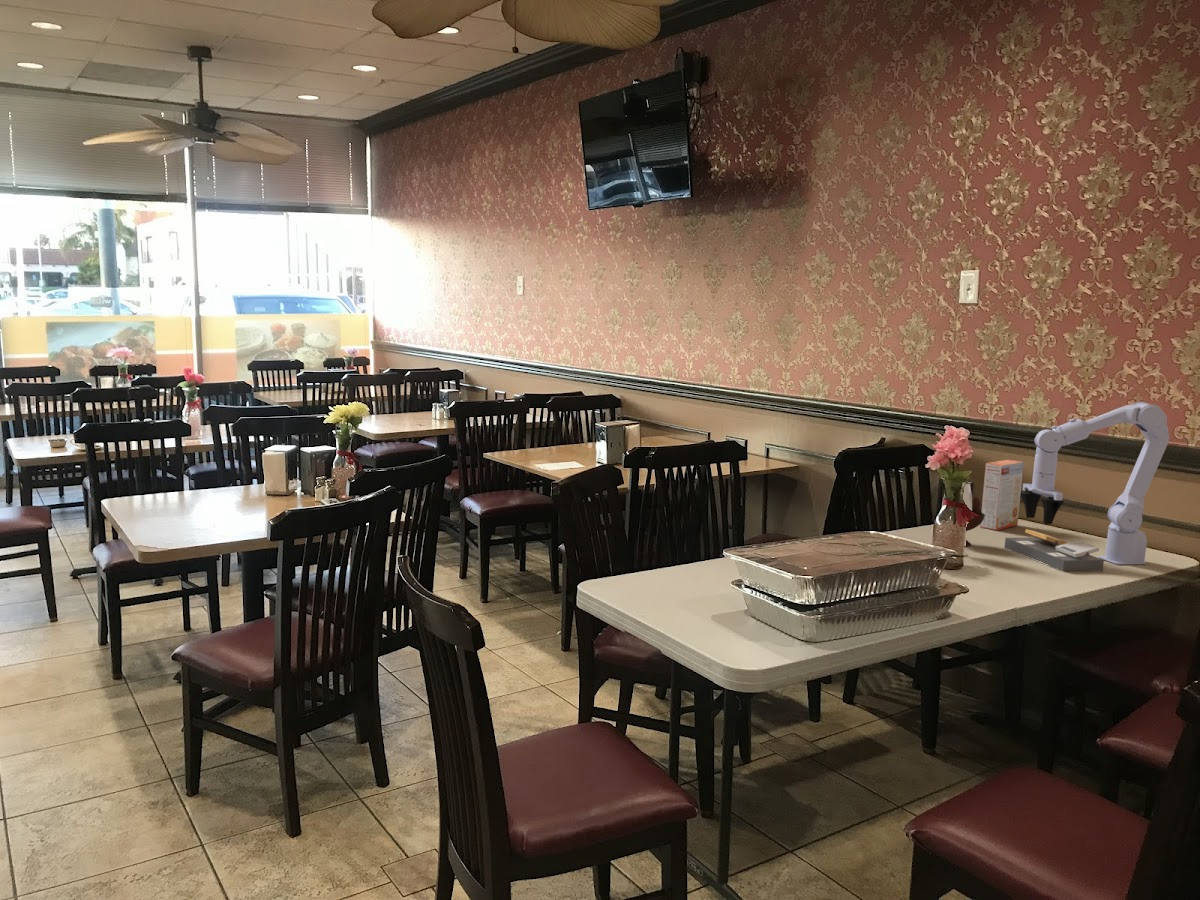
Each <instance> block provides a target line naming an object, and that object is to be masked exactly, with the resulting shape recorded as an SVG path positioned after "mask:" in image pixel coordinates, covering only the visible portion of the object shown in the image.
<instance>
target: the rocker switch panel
mask: <svg viewBox="0 0 1200 900" xmlns="http://www.w3.org/2000/svg"><path fill="white" fill-rule="evenodd" d="M1004 541H1005V542H1004V547H1003V548H1004V549H1006V548H1007V549H1006V550H1009V549H1010V550H1009V551H1011V550H1012V552H1013V551H1015V552H1014V553H1016V552H1018V553H1020V554H1019V555H1021V554H1023V555H1025V556H1024V557H1026V556H1028V557H1030V558H1029V559H1031V558H1033V559H1035V560H1038V561H1041V562H1043V563H1045V564H1048V565H1050V566H1052V567H1051V568H1053V567H1055V568H1057V569H1059V570H1058V571H1060V570H1062V571H1078V572H1103V571H1104V564H1105V560H1104V559H1101V558H1098V557H1097V556H1094V555H1091V554H1089V556H1088V557H1087V556H1084V555H1083V556H1080V557H1076V558H1075V557H1073V556H1070V555H1068V554H1065V553H1062V552H1060V551H1057V550H1056V548H1055V546H1059V545H1062V544H1059V543H1058V544H1057V545H1054V544H1052V543H1049V542H1046V541H1044V540H1041V539H1038V538H1036V537H1034V536H1033V537H1005V539H1004ZM1018 553H1017V554H1018ZM1023 555H1022V556H1023ZM1028 557H1027V558H1028ZM1033 559H1032V560H1033ZM1035 560H1034V561H1035ZM1038 561H1037V562H1038ZM1043 563H1042V564H1043ZM1045 564H1044V565H1045ZM1048 565H1047V566H1048ZM1050 566H1049V567H1050ZM1055 568H1054V569H1055ZM1057 569H1056V570H1057ZM1062 571H1061V572H1062Z"/></svg>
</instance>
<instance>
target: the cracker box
mask: <svg viewBox="0 0 1200 900" xmlns="http://www.w3.org/2000/svg"><path fill="white" fill-rule="evenodd" d="M984 469H985V470H984V478H983V479H984V480H983V481H984V482H983V489H982V490H983V491H982V492H983V493H982V502H981V504H982V505H981V511H982V513H983V514H985V517H984V520H983V521H982V523H981V524H980V525H979V527H980V529H981V528H982V529H987V530H992V531H1000V530H1004V529H1007V528H1012V527H1016V526H1018V523H1019V514H1020V513H1019V512H1020V503H1021V495H1020V493H1021V492H1022V485H1023V484H1022V480H1023V475H1024V474H1023V473H1024V472H1023V471H1024V462H1023V461H1019V460H1013V459H1004V460H997V461H990V462H986V463H985V468H984Z"/></svg>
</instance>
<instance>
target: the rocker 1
mask: <svg viewBox="0 0 1200 900" xmlns="http://www.w3.org/2000/svg"><path fill="white" fill-rule="evenodd" d="M1024 533H1026V534H1027V535H1028V534H1029V535H1031V536H1033V538H1034V537H1036V538H1038V539H1041V540H1044V541H1046V542H1049V543H1052V544H1054V545H1057V544H1058V543H1059V544H1062V545H1063V544H1066V543H1069V542H1067V541H1065V540H1063V539H1059V538H1058V537H1057V538H1056V537H1054V536H1052V535H1048V534H1046V533H1042V532H1038V531H1035V530H1031V529H1027V528H1025V531H1024Z"/></svg>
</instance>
